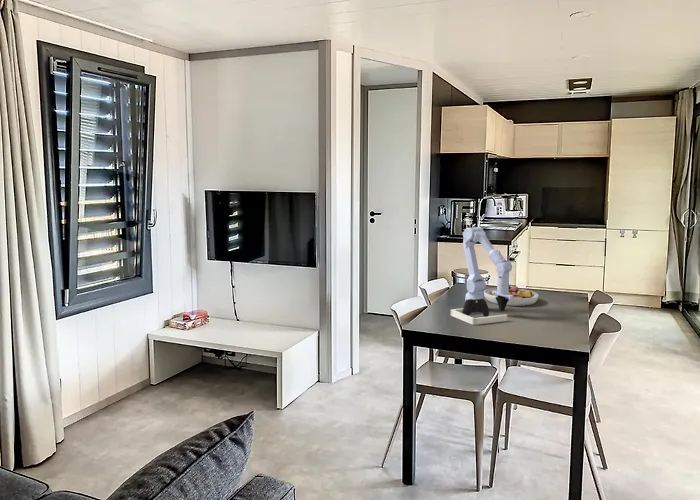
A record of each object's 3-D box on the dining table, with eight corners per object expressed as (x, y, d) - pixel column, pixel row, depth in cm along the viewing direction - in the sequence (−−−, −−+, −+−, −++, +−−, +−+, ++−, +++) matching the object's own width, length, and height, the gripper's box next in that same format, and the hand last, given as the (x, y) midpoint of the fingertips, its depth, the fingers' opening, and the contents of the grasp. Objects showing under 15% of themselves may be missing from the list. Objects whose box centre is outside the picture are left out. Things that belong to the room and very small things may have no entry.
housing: (450, 315, 285) (450, 309, 284) (482, 311, 293) (482, 306, 292) (473, 324, 267) (473, 318, 266) (506, 320, 274) (507, 315, 274)
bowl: (545, 307, 304) (546, 293, 303) (490, 307, 304) (491, 293, 303) (528, 296, 333) (529, 283, 332) (478, 295, 334) (479, 282, 332)
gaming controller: (464, 320, 276) (464, 300, 274) (459, 317, 282) (460, 297, 280) (491, 319, 278) (491, 299, 276) (486, 316, 284) (487, 297, 282)
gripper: (518, 286, 278) (517, 313, 280) (500, 281, 291) (499, 307, 293) (507, 287, 275) (506, 314, 277) (489, 282, 289) (488, 308, 290)
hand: (501, 310), depth 285 cm, fingers closed
